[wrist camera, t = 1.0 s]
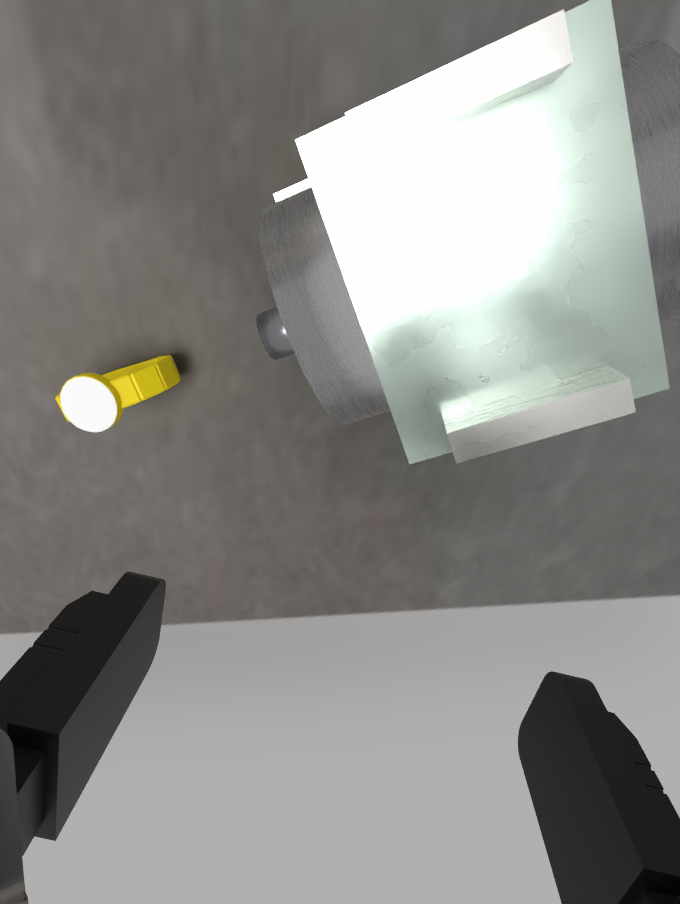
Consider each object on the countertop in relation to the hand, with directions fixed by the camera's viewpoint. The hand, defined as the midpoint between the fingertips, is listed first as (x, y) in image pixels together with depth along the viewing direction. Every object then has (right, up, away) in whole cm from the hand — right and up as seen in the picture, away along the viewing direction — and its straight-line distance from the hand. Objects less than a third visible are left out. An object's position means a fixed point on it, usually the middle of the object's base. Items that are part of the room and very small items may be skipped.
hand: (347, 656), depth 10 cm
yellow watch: (-11, +9, +19) cm, 24 cm away
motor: (+5, +14, +14) cm, 21 cm away
